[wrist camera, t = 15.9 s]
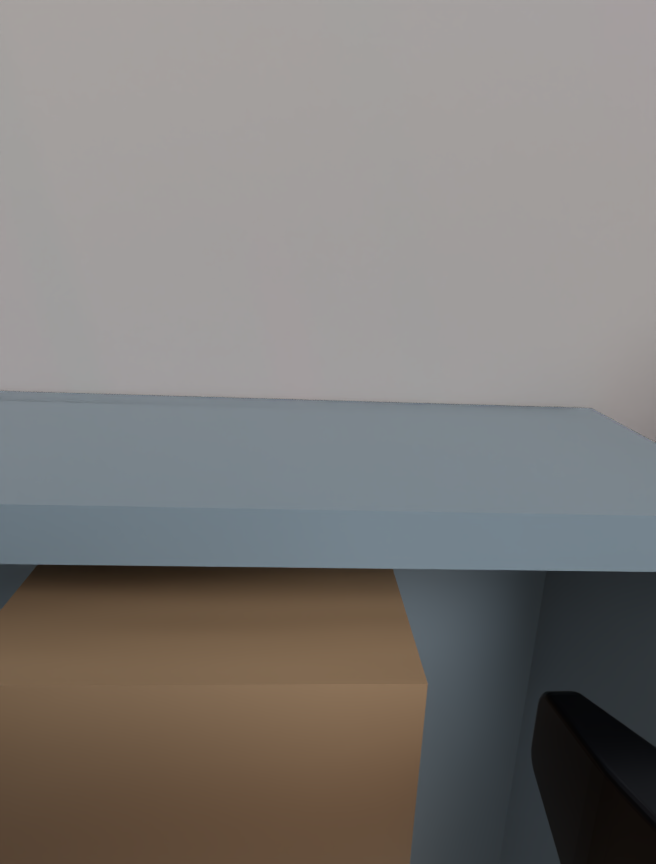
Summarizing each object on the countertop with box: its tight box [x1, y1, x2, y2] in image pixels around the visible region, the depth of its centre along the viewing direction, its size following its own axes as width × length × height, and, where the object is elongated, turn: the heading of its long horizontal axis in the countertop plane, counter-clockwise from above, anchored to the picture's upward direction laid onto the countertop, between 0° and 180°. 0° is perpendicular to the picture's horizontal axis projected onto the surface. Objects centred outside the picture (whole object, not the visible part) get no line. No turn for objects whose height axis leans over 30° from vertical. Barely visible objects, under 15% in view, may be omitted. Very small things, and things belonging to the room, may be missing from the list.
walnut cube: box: [0, 565, 428, 864], centre depth 9 cm, size 5×5×5 cm
